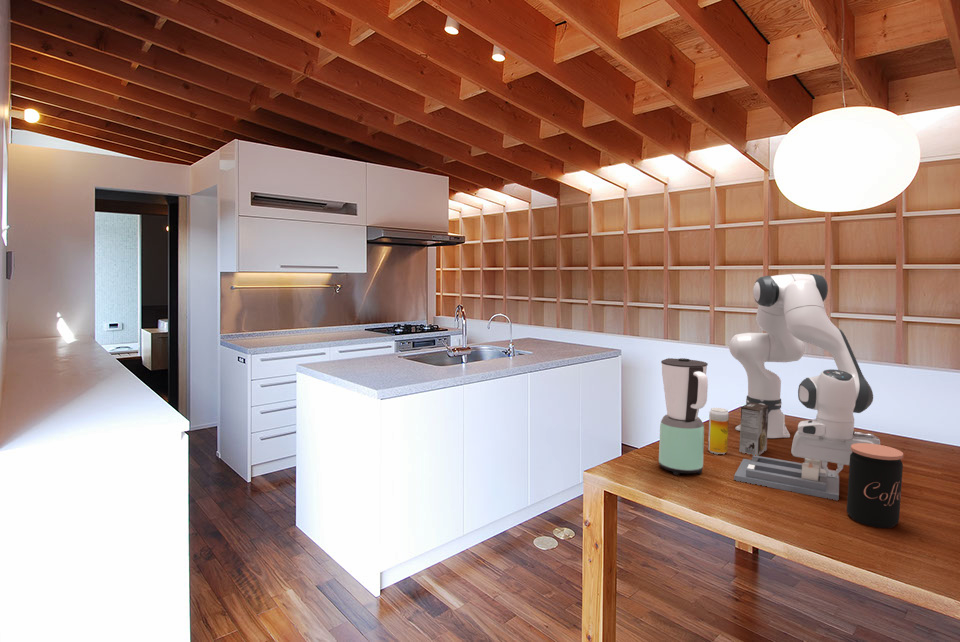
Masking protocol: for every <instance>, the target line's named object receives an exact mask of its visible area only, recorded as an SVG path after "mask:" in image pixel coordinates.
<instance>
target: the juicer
mask: <svg viewBox="0 0 960 642" xmlns="http://www.w3.org/2000/svg"><path fill="white" fill-rule="evenodd" d="M660 363H661V375H662V382H663V391H664V398H665V400H664V401H665V406H666V414H665V415H664V416H663V417H662V419H661V420H660V424H659V440H658V441H659V442H658V443H659V447H658V448H659V449H658V463H659V467H661V468H663V469H664V470H667V471H669V472H672V475H673V474H674V475H673V476H675V475H679V476H681V474H697V475H698V474H699V475H701V473H702V474H703V468H704V448H705V447H704V445H705V443H704V442H705V424H704V422H703V421H702V420H701V419H700V417H698V416H699V412H700V409H703V408H704V407H705V405H706V404H707V401H708V390H709V389H708V386H709V384H708V376H707V366H708V362H705V361H702V360H697V359H696V360H695V359H690V358H686V357H685V358H681V357H680V358H670V357H669V358H666V359H662V360H661V361H660Z"/></svg>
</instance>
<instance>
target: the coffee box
mask: <svg viewBox="0 0 960 642" xmlns="http://www.w3.org/2000/svg"><path fill="white" fill-rule="evenodd" d="M740 424H741V425H740ZM740 424H739V425H740V431H739V453H741V452H742V453H741V454H745V453H747V454H746V455H750V454H752V455H751V456H753V455H756V456H761V455H762V454H763V453H765V452H766V451H767V450H768V438H767V430H768V406H767V405H762V404H757V403H748V404H746V403H745V404H744V405H742V406H741V407H740ZM764 451H765V452H764Z"/></svg>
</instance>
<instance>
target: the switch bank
mask: <svg viewBox="0 0 960 642" xmlns="http://www.w3.org/2000/svg"><path fill="white" fill-rule="evenodd" d="M803 463H804V462H801V463H800V462H797V461H791V460H789V461H788V460H784V459H779V458H772V457H767V456H761V455H759V456H755V455H752V457H751V459H748V458H742V461H740V465H739V466H738V467H737V470H736V471H735V474H734V475H733V481H734V480H736V481H735V482H740V481H741V482H740V483H745V482H747V483H746V484H750V483H751V484H750V485H755V484H757V485H756V486H760V485H762V487H765V486H767V487H766V488H772V489H776V490H782V491H786V492H791V491H792V493H797V494H803V495H808V496H812V497H817V498H818V497H819V498H823V499H827V498H828V500H832V499H833V500H834V501H838V500H839V498H840V497H839V496H840V475H839V474H838V479H835V478H830V477H825V476H826V471H825V470H824V468H823V466H821V470H820V473H819V477H818V481H814V480H809V479H803V478H801V477H802V464H803Z"/></svg>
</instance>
